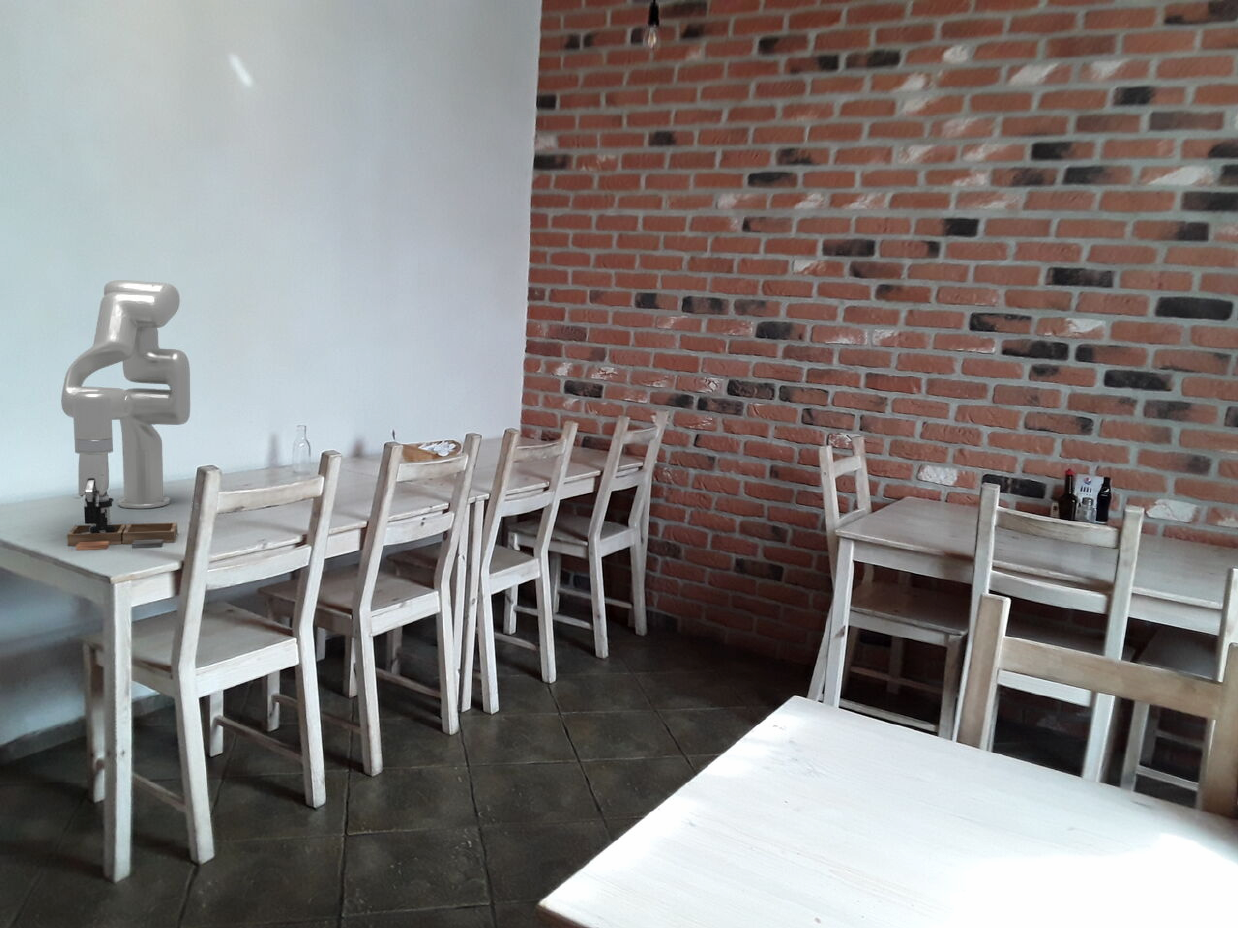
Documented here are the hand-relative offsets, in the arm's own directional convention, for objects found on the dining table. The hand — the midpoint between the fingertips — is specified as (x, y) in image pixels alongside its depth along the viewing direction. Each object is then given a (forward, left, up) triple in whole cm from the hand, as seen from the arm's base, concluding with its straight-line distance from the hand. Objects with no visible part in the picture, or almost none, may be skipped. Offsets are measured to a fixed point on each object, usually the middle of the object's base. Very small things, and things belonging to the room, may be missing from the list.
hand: (97, 518), depth 203 cm
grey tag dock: (+2, +11, -5) cm, 12 cm away
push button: (0, 0, -5) cm, 5 cm away
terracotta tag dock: (+2, 0, -5) cm, 6 cm away
